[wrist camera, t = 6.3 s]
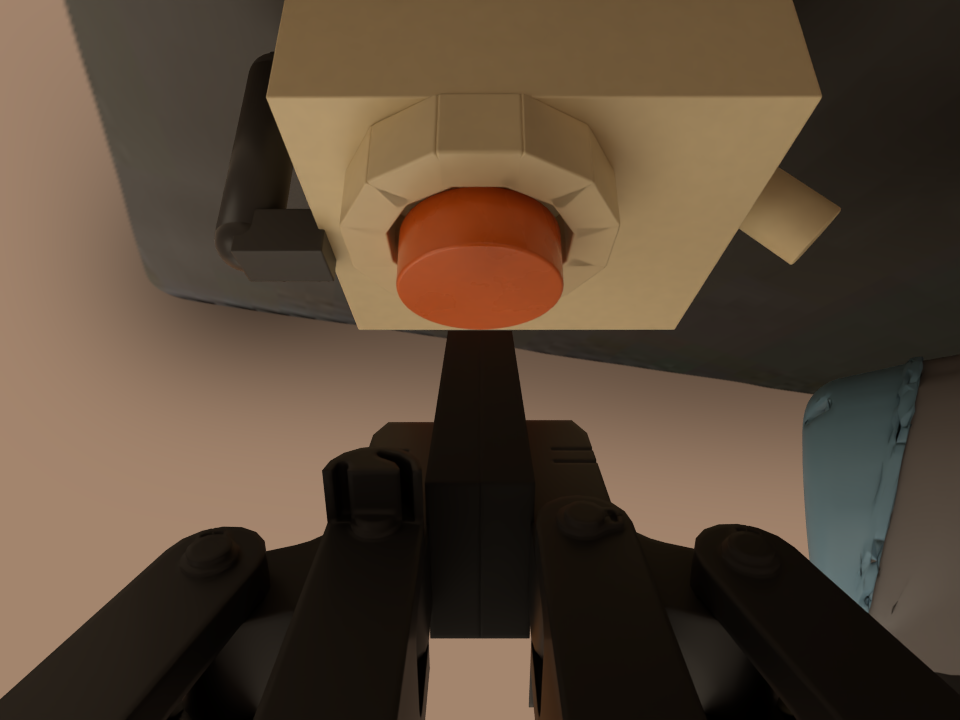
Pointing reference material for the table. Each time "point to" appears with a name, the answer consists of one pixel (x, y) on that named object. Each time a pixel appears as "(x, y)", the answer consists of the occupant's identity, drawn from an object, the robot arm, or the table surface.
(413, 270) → the button
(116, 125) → the table surface
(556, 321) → the kettle
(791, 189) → the kettle handle and spout
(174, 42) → the table surface
